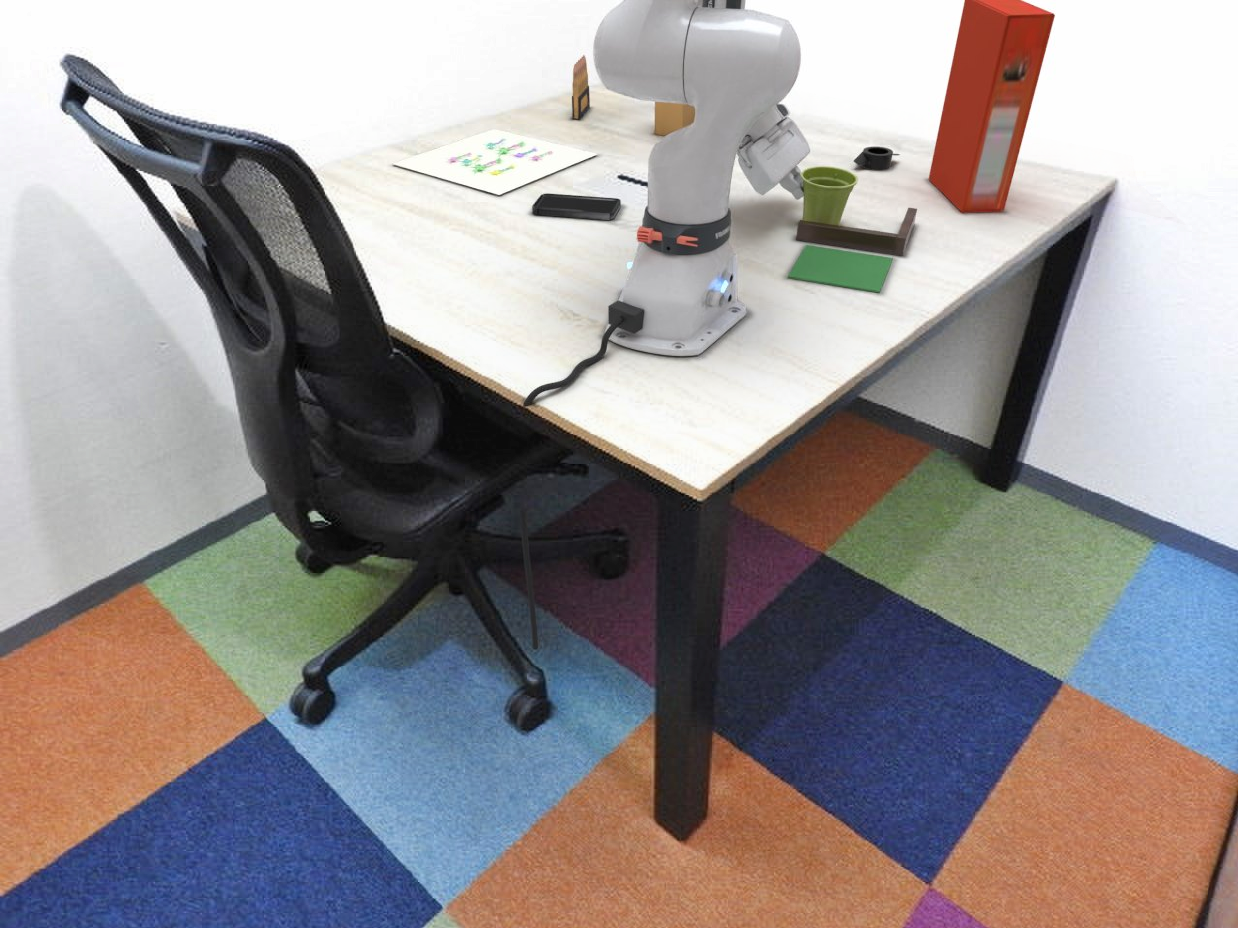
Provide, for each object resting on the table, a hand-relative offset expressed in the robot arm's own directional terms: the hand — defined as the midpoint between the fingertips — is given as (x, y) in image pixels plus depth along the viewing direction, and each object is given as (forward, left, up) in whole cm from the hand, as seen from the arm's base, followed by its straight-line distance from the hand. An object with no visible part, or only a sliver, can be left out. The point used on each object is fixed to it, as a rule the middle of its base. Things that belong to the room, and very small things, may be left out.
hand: (803, 195), depth 149 cm
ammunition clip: (+48, +64, -5) cm, 80 cm away
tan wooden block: (+41, +38, -5) cm, 56 cm away
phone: (-9, +39, -5) cm, 40 cm away
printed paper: (+10, +66, -5) cm, 67 cm away
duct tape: (+36, -7, -5) cm, 37 cm away
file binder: (+25, -25, -5) cm, 36 cm away
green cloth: (-16, -10, -5) cm, 20 cm away
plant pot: (0, -4, -5) cm, 6 cm away
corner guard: (-1, -10, -5) cm, 11 cm away
